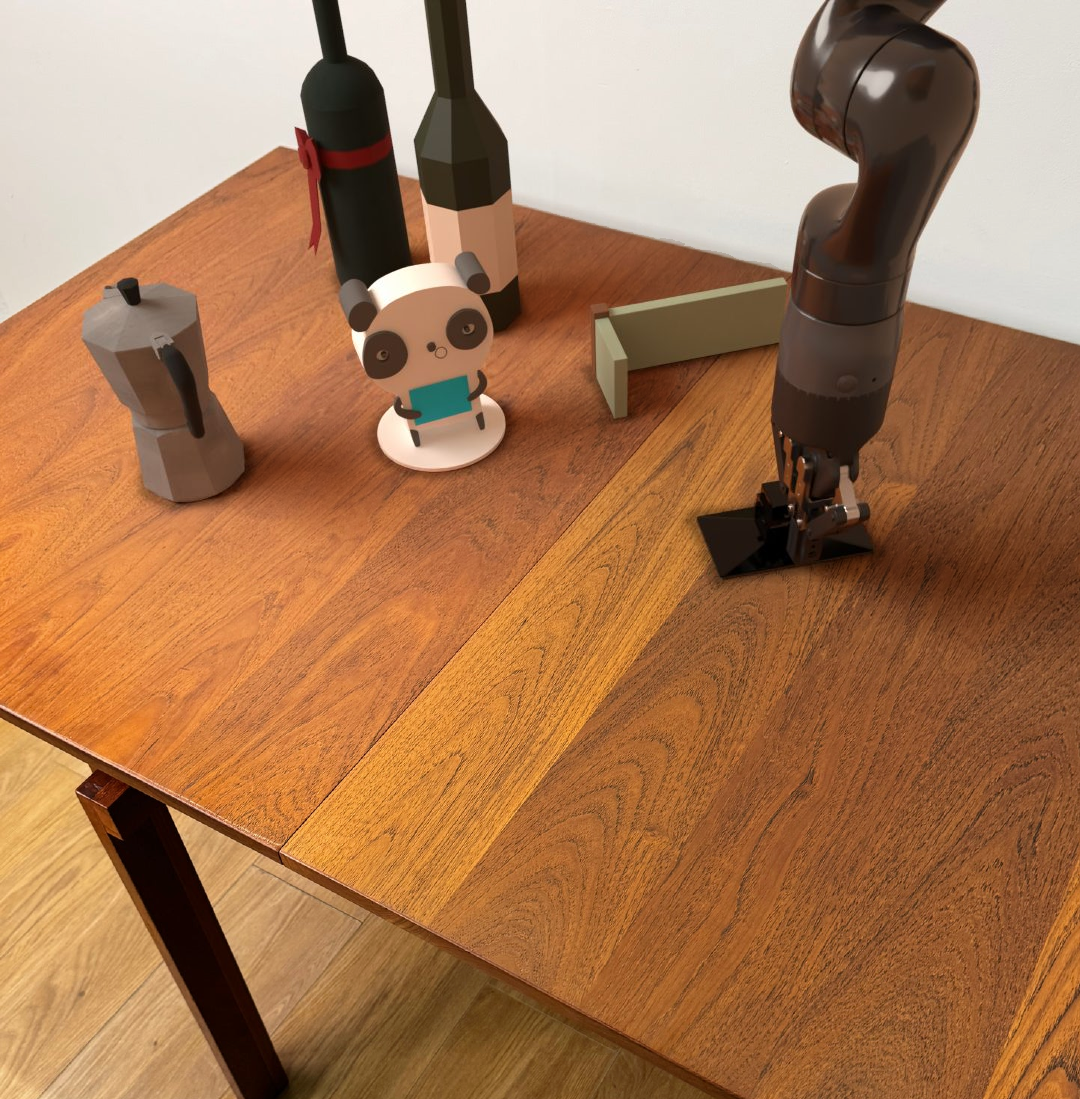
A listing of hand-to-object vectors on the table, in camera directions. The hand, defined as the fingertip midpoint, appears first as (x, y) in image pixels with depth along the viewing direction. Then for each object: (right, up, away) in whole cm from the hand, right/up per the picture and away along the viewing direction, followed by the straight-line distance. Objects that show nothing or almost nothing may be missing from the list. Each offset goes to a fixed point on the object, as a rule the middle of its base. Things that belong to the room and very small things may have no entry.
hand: (802, 556), depth 88 cm
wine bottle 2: (-26, +27, +25) cm, 45 cm away
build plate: (-1, +2, +4) cm, 4 cm away
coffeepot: (-49, +9, +12) cm, 52 cm away
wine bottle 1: (-38, +33, +30) cm, 59 cm away
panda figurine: (-29, +13, +14) cm, 35 cm away
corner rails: (-6, +18, +16) cm, 25 cm away
